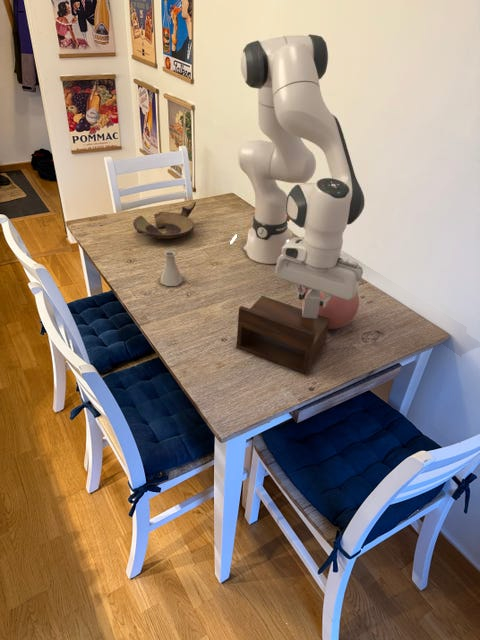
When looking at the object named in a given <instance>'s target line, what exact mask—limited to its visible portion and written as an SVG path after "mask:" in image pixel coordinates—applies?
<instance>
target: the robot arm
mask: <svg viewBox="0 0 480 640" xmlns="http://www.w3.org/2000/svg"><path fill="white" fill-rule="evenodd" d="M328 63H329V50H328V46H327V42H326V40H325V38H323V37H322V36H321V35H318V34H308V35H299V34H298V35H283V36H280V37H273V38H269V39H265V40H260V41H259V40H254V41H252V42H249V43H247V44H246V45H245V47H244V48H243V49H242V56H241V59H240V71H241V75H242V77H243V79H244V82H245V84H246V85H248V87H250V88H252V89H257V91H258V92H257V93H258V94H257V108H258V110H257V111H258V113H257V115H258V126H259V129H260V131H261V133H262V134H264V135H265V136H266V138H268V139H269V140H270V141H267V140H261V139H255V140H246V141H245V142H244V143H243V144H242V145H241V147H240V148H239V150H238V154H237V162H238V165H239V168H240V170H241V171H242V172H243V173H244V174H245V175H246V176H247V178H248V180H249V181H250V183H251V185H252V188H253V192H254V200H255V201H254V215H253V217H252V226H251V228H249V229H248V234H247V241H246V244H244V245H243V250H244V251H245V253H246V255H247V257H248V258H249V259H250V260H252V261H253V262H257V263H259V264H265V265H273V264H276V265H275V270H274V271H275V272H274V274H275V276H276V278H278V279H280V280H282V281H286V282H290V283H293V284H294V286H293V287H294V290H295V292H296V299H298V300H301V301H302V300H303V299H304V297H305V291H304V289H303V287H304V288H305V287H308V288H311V289H314V290H317V291H320V292H323V293H326V298H323V297H322V299H321V300H320V304H319V306H321V307H324V308H325V307H326V305H327V301H328V300H330V299H331V297H332V296H336V297H339V298H342V299H345V300H348V301H350V300H352V299H353V298H354V297H355V296H356V294H357V293H358V291H359V284H360V281H361V280H362V277H363V274H364V269H363V267H362V266H361V265H359V263H358V262H356V261H351V260H348V259H345V258H343V257H341V253H342V248H343V243H344V239H343V238H344V237H343V236H344V233H345V230H346V228H347V225H351V224H353V223H354V222H355V221H357V219H358V218H359V217H360V216H361V215H362V213H363V211H364V210H365V209H364V208H365V201H366V200H365V195H364V192H363V189H362V187H361V185H360V183H359V181H358V178H357V176H356V173H355V169H354V166H353V163H352V160H351V159H352V158H351V156H350V153H349V150H348V145H347V142H346V138H345V136H344V132H343V129H342V126H341V124H340V121H339V120H338V118H337V116H335V115H334V114H333V113H332V112H331V111H330V109H329V108H328V106H327V105H326V103H325V101H324V98H323V97H322V96H323V95H322V92H321V86H320V80H322V78H323V77H324V75H325V74H326V72H327V69H328ZM303 140H306V141H308V142H310V143H312V144H314V145H315V146H317V147H318V148H320V150H321V151H322V152H323V154H324V156H325V160H326V162H327V166H328V169H329V174H330V177H331V178H330V177H325V178H320V179H318V180H317V181H316V182H309V181H310V180H311V179H312V178H313V176H314V175H315V172H316V169H317V160H316V156H315V155H314V153H313V152H312V151H311V150H310V149H309V147H307V146H306V144H305V143H304V141H303ZM277 181H279V182H284V183H288V184H295V185H294V186H293V187H292V188H291V190H290V191H289V192H288V194H287V193H286V191H284V190H283V189H282V188H281V187H280V186H279V185H278V183H277ZM290 220H291V222H292V223H293V224H295V225H296V226H298V227H299V228H301V229H304V231H305V233H304V235H303V236H299V237H298V236H297V237H296V236H295V237H294V232H293V230H291V229H290V228H289V227H288V226H289V224H288V222H290ZM237 237H238V236H237V234H235V235H234V236H233V237H232V239H231V241H230V245H232V244H233V242H234V241H235V240H236V238H237Z"/></svg>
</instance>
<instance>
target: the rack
mask: <svg viewBox="0 0 480 640" xmlns="http://www.w3.org/2000/svg"><path fill="white" fill-rule="evenodd" d="M237 317H238V318H237V331H236V347H235V348H236V349H239V350H241V351H244V352H245V353H248V354H251V355H254V356H255V357H259V358H261V359H263V360H266V361H268V362H271V363H273V364H276V365H278V366H281V367H283V368H286V369H289V370H292V371H293V372H296V373H299V374H301V375H304V376H307V375H308V372H309V371H310V369H311V368H312V366H313V365H314V363H315V361H316V360H317V358H318V356H319V355H320V353H321V351H322V350H323V348H324V347H325V346H326V345H325V344H326V341H327V340H326V339H327V336H328V332H329V329H328V328H329V323H330V319H329V318H326V317H323V316H320V315H318V316H317V319H316V318H306V317H302V308H300V307H297V306H294V305H291V304H288V303H285V302H282V301H279V300H276V299H273V298H270V297H269V296H265V295H261V296H260V297H259V298H258V299H257V300H256V301H255V303H253V305H252V306H251V307H250V308H248V307H246V306H243V305H240V307H239V308H238V316H237Z"/></svg>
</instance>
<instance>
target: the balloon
mask: <svg viewBox="0 0 480 640" xmlns="http://www.w3.org/2000/svg"><path fill="white" fill-rule="evenodd" d="M320 295H321V299H322V297H323V298H326V293H323V292H320ZM359 305H360V297H359V293H358V292H357V294H356V296H355V297H354V298H353V299H352V300H350V301H348V300H345V299H342V298H339V297H336V296H332V297H331V299H330V300H328V301H327V305H326V307H325V308H324V307H321V306H319V311H318V315H320V316H323V317H326V318H329V319H330V323H329V328H328V330H335V329H339V328H342V327H344V326H346V325H348V324H349V323H350V322H351V321H352V320H353V319H354V318H355V317H356V315H357V313H358V310H359V307H360V306H359Z"/></svg>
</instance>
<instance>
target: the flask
mask: <svg viewBox="0 0 480 640" xmlns="http://www.w3.org/2000/svg"><path fill="white" fill-rule="evenodd" d="M175 256H176V252H174V251H171V250H170V251H169V250H168V251H166V252H165V253H164V257H166V259H165V265H164V267H163V268H164V269H163V271H162V274H161V277H160V284H161V285H164V286H167V287H177V286H179V285H180V284H181V283H183V276H182V274H181V272H180V270H179V268H178V265H177V263H176V259H175Z"/></svg>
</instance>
